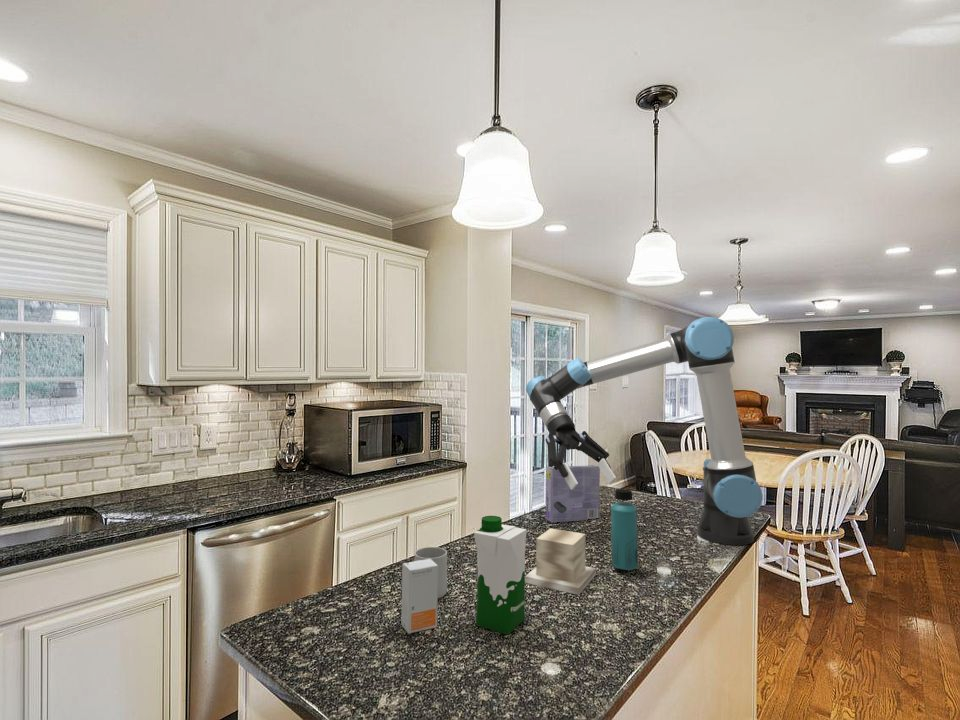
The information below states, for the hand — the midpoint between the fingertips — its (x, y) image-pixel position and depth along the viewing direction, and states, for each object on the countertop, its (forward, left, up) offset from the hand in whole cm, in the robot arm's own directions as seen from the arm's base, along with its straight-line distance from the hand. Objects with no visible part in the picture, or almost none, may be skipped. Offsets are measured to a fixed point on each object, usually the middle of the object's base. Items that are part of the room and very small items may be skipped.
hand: (594, 483), depth 136 cm
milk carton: (+6, +43, -20) cm, 48 cm away
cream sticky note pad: (+3, +17, -19) cm, 26 cm away
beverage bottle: (-9, +5, -20) cm, 22 cm away
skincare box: (+19, +52, -20) cm, 59 cm away
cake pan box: (+16, -31, -20) cm, 40 cm away
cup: (+26, +40, -20) cm, 52 cm away
